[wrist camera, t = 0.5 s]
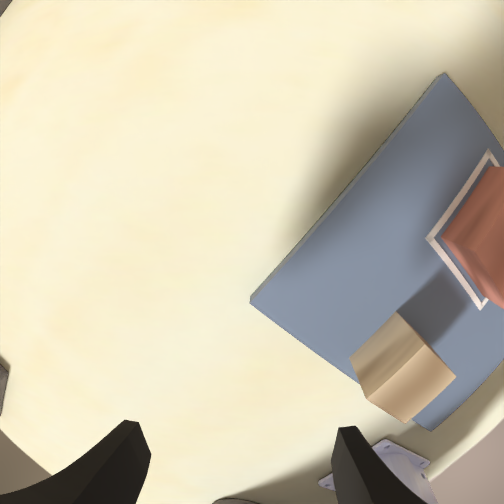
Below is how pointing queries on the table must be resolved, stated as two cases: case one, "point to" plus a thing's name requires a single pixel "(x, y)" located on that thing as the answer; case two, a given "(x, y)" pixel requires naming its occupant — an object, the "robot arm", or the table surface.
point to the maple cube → (400, 369)
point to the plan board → (399, 253)
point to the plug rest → (2, 384)
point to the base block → (482, 235)
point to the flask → (233, 501)
